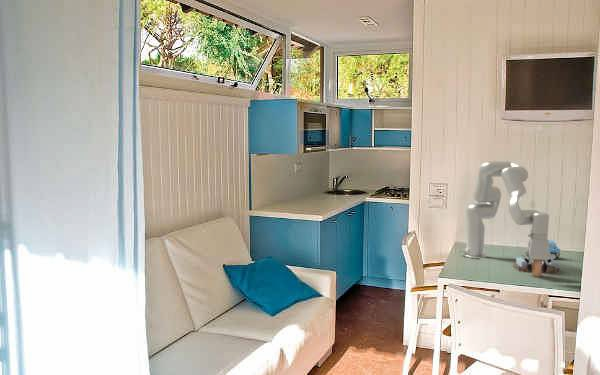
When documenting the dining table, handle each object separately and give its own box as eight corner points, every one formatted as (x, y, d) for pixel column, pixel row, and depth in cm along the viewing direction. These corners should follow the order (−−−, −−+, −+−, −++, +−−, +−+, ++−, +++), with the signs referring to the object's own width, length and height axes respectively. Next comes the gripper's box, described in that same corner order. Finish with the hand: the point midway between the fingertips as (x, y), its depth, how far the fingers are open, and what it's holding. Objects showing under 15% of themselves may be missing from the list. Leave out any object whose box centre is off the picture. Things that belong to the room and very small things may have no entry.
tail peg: (533, 279, 270) (535, 259, 269) (530, 277, 274) (532, 258, 273) (541, 279, 270) (543, 260, 269) (538, 277, 274) (540, 258, 273)
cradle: (519, 274, 278) (520, 266, 277) (511, 268, 291) (511, 260, 290) (561, 276, 277) (561, 267, 276) (551, 269, 290) (551, 261, 289)
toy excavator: (531, 253, 327) (533, 225, 325) (561, 258, 316) (563, 229, 314) (527, 255, 320) (529, 227, 318) (557, 260, 310) (559, 231, 308)
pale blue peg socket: (523, 272, 277) (523, 259, 276) (514, 265, 291) (514, 253, 290) (558, 273, 276) (559, 261, 275) (548, 266, 290) (548, 254, 289)
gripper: (524, 237, 266) (521, 272, 269) (560, 239, 265) (557, 274, 267) (519, 234, 274) (516, 268, 276) (554, 236, 273) (551, 270, 275)
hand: (536, 271), depth 272 cm, fingers open, 6 cm apart
